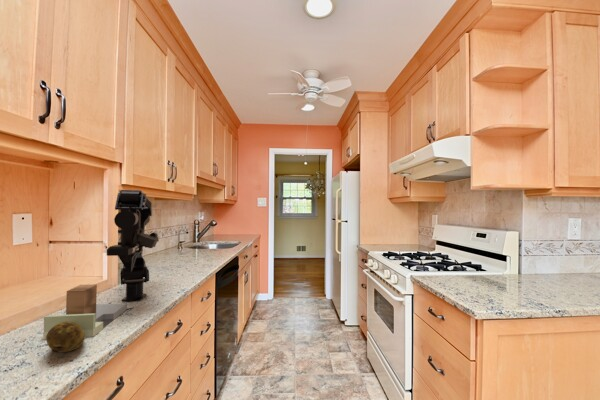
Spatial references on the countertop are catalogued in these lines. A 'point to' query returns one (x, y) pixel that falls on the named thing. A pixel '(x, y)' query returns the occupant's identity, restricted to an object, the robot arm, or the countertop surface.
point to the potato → (65, 337)
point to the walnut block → (81, 300)
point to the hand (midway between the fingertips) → (129, 271)
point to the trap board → (87, 319)
